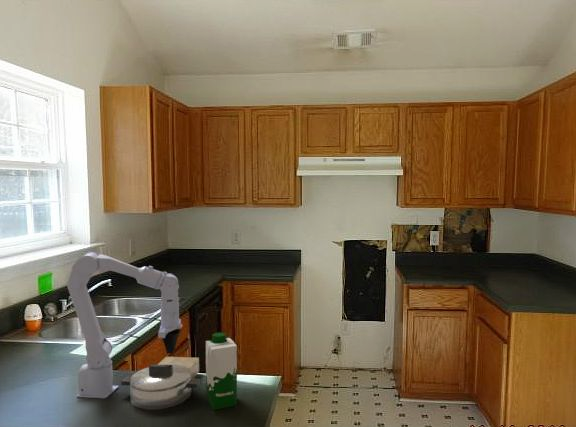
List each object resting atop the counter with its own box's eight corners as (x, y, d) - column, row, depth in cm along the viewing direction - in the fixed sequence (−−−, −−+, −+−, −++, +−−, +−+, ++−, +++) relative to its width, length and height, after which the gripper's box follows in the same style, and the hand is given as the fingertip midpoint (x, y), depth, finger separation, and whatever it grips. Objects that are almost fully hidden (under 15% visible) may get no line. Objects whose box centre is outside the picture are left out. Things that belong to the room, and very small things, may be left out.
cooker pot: (109, 407, 124) (109, 390, 124) (150, 369, 152) (149, 356, 152) (189, 411, 122) (188, 394, 122) (215, 372, 149) (215, 358, 149)
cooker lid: (119, 390, 124) (119, 376, 124) (146, 366, 142) (146, 354, 141) (178, 392, 122) (177, 378, 122) (197, 368, 140) (197, 356, 139)
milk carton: (231, 393, 133) (231, 330, 132) (240, 406, 124) (239, 338, 124) (203, 399, 129) (202, 334, 129) (210, 412, 121) (209, 343, 120)
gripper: (173, 318, 131) (174, 361, 132) (189, 306, 146) (189, 345, 146) (151, 317, 132) (152, 360, 133) (169, 306, 147) (170, 344, 147)
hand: (170, 352), depth 140 cm, fingers closed
